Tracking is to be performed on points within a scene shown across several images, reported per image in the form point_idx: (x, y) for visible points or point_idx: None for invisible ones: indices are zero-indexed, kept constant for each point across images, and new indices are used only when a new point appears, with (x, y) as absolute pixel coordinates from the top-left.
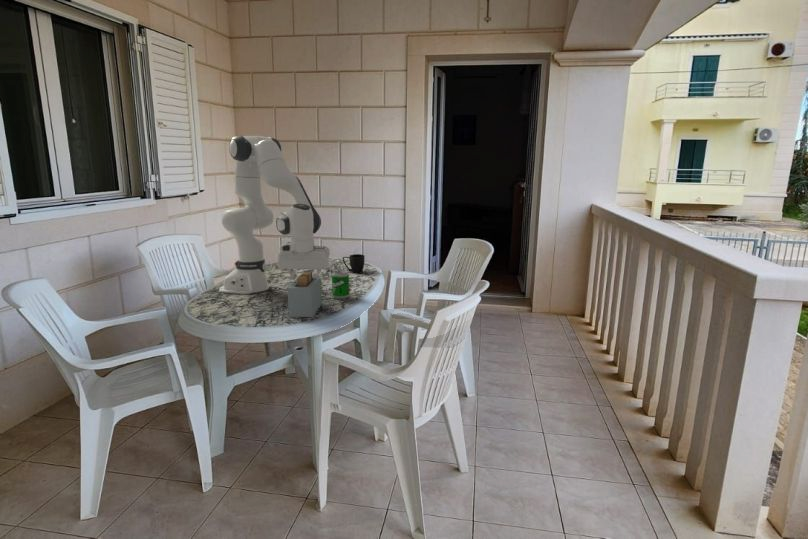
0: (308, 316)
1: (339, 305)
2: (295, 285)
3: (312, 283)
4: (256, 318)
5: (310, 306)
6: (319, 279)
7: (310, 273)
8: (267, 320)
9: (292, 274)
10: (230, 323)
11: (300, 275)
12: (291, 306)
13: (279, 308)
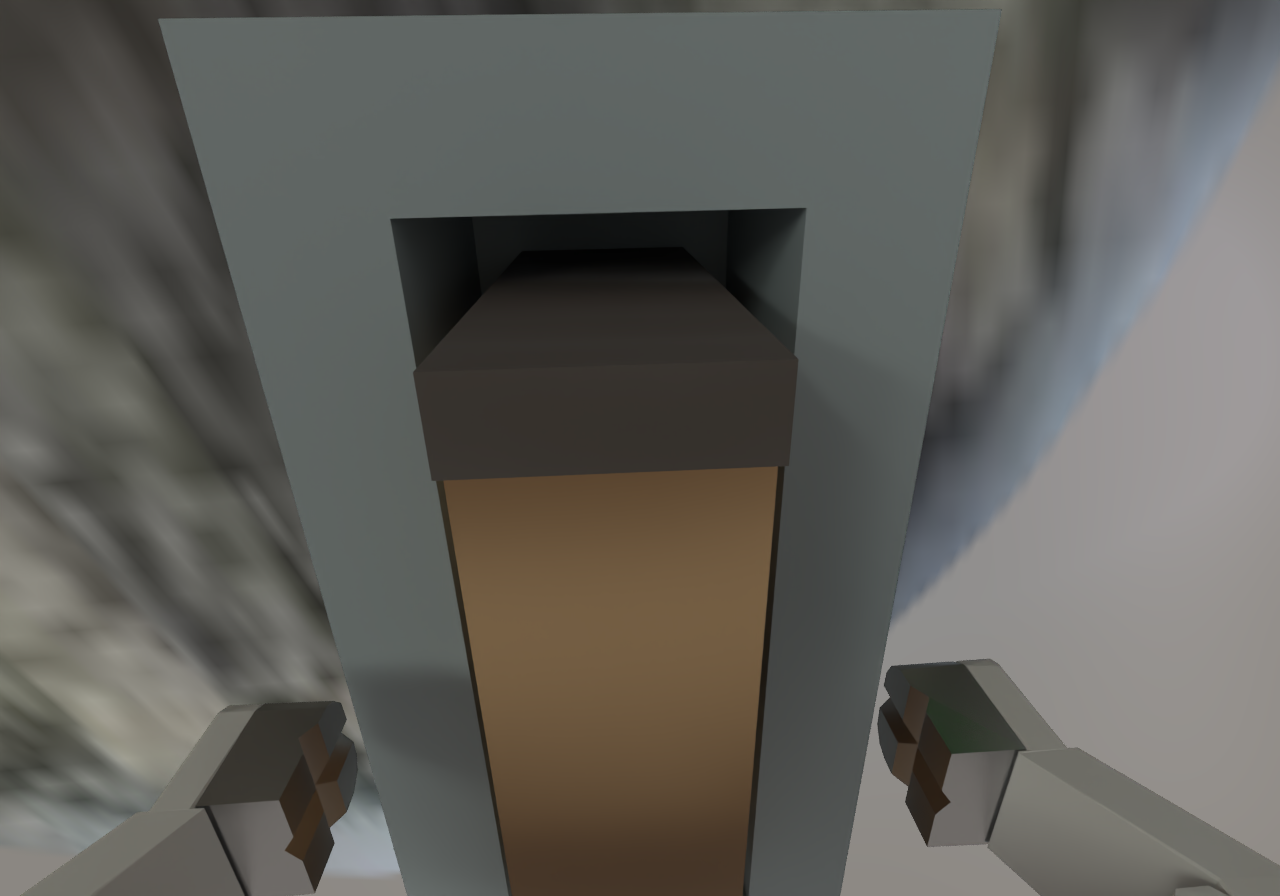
0: None
1: (1010, 157)
2: (503, 855)
3: (818, 731)
4: (198, 669)
5: None
6: (939, 247)
7: (761, 559)
8: (337, 700)
9: (207, 865)
10: (57, 786)
11: (522, 894)
12: None
13: (239, 357)
